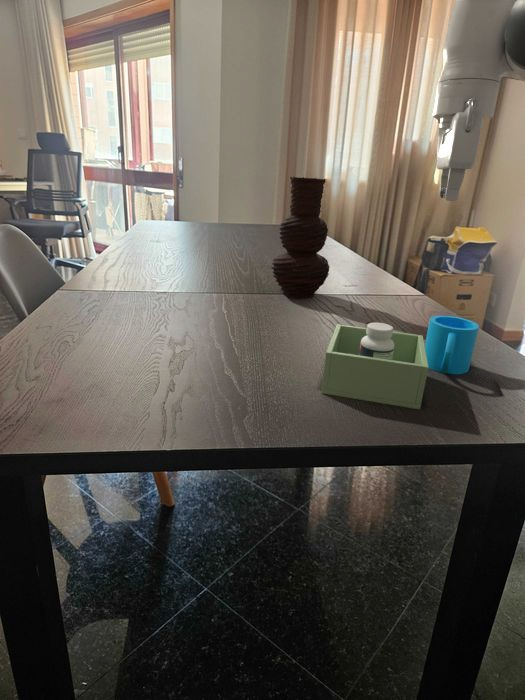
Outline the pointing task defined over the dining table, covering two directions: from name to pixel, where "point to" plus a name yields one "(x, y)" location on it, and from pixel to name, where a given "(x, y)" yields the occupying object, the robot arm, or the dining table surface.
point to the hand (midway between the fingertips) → (447, 199)
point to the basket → (376, 369)
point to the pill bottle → (377, 341)
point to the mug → (450, 344)
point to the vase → (302, 241)
